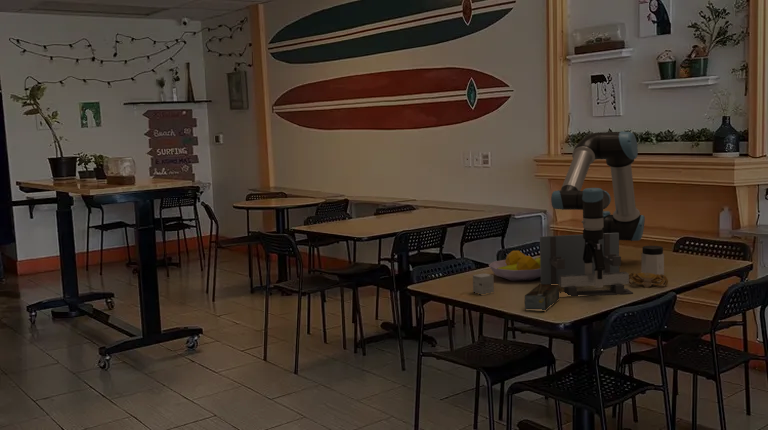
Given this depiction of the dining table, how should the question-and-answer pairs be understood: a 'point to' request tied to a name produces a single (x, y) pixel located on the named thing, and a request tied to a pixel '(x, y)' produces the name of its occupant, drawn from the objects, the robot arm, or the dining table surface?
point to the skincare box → (483, 283)
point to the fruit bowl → (517, 267)
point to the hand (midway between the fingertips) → (593, 283)
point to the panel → (574, 256)
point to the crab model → (647, 279)
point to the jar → (653, 260)
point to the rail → (593, 279)
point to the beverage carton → (542, 296)
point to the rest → (598, 291)
